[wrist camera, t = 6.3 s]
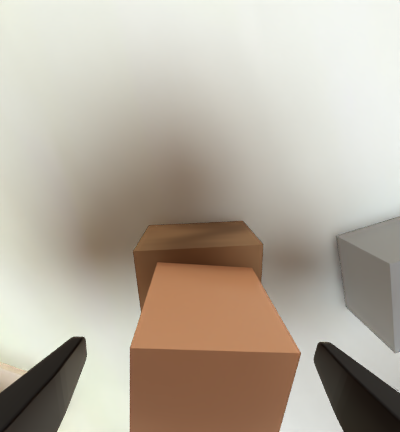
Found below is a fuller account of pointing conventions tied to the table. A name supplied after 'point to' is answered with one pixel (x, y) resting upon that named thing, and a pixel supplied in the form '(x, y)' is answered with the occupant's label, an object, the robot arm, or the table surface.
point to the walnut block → (196, 248)
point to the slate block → (373, 278)
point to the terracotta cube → (209, 353)
